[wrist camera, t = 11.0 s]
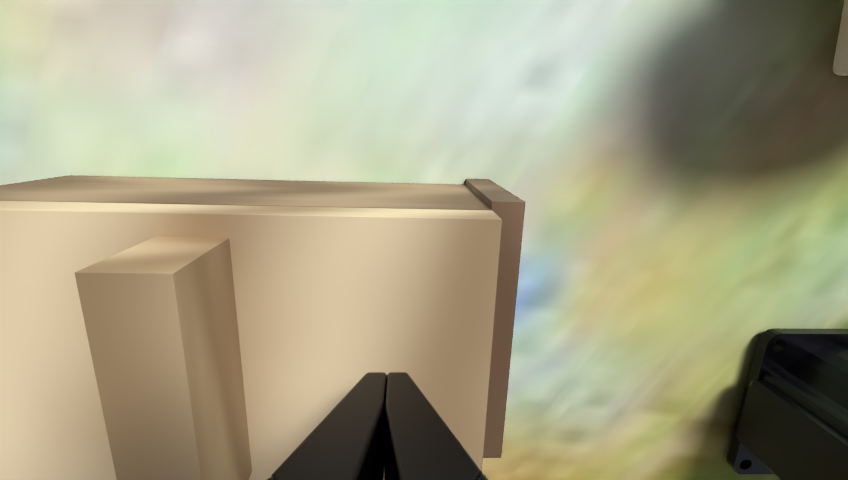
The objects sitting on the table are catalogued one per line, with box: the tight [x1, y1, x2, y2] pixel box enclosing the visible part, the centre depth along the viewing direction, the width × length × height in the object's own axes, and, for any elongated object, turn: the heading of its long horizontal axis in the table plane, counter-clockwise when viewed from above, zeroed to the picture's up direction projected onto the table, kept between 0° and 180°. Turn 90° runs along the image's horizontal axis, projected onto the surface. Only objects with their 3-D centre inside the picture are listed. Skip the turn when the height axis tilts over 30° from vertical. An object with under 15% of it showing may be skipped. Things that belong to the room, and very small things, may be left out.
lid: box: [0, 201, 502, 480], centre depth 9 cm, size 13×7×3 cm, turn 88°
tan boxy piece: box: [0, 176, 525, 458], centre depth 13 cm, size 14×7×4 cm, turn 89°
